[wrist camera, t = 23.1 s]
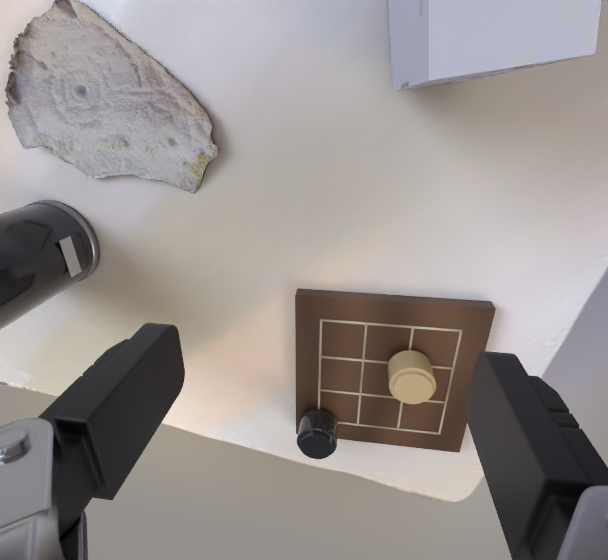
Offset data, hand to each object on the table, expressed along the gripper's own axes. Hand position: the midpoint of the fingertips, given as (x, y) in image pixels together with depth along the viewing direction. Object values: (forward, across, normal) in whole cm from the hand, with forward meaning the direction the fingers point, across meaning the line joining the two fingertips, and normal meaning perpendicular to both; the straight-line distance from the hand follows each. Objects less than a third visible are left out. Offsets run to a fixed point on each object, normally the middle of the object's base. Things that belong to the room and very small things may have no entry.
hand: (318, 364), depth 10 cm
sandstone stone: (+26, -8, +20) cm, 34 cm away
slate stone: (+26, +2, +29) cm, 39 cm away
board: (+28, -5, +22) cm, 36 cm away
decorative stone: (+28, +22, -6) cm, 36 cm away
